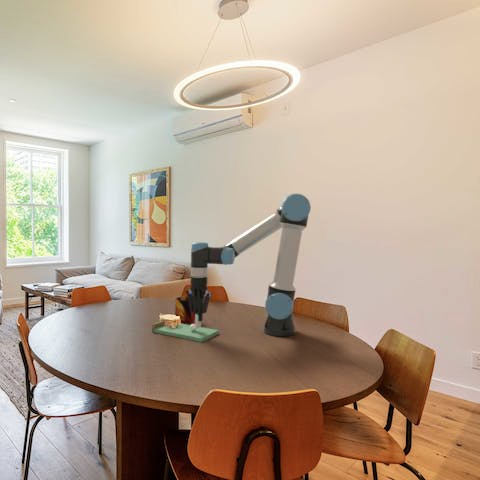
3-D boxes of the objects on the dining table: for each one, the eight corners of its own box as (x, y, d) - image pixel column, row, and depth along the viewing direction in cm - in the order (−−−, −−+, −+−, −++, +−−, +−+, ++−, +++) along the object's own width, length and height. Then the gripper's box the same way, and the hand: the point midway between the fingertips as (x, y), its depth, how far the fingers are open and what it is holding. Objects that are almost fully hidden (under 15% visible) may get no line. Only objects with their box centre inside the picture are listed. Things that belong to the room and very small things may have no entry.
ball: (195, 321, 158) (191, 325, 159) (191, 323, 155) (187, 326, 156) (199, 328, 157) (194, 331, 158) (195, 330, 154) (190, 333, 156)
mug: (192, 326, 170) (193, 302, 170) (171, 322, 177) (171, 299, 176) (203, 321, 179) (204, 298, 179) (182, 318, 185) (182, 296, 185)
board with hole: (218, 333, 159) (219, 326, 158) (201, 342, 146) (201, 333, 146) (171, 324, 172) (171, 317, 172) (152, 331, 159) (152, 324, 159)
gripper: (215, 276, 155) (214, 328, 156) (192, 274, 161) (191, 323, 162) (206, 278, 148) (205, 332, 149) (182, 276, 154) (181, 327, 155)
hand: (197, 327), depth 155 cm, fingers closed
